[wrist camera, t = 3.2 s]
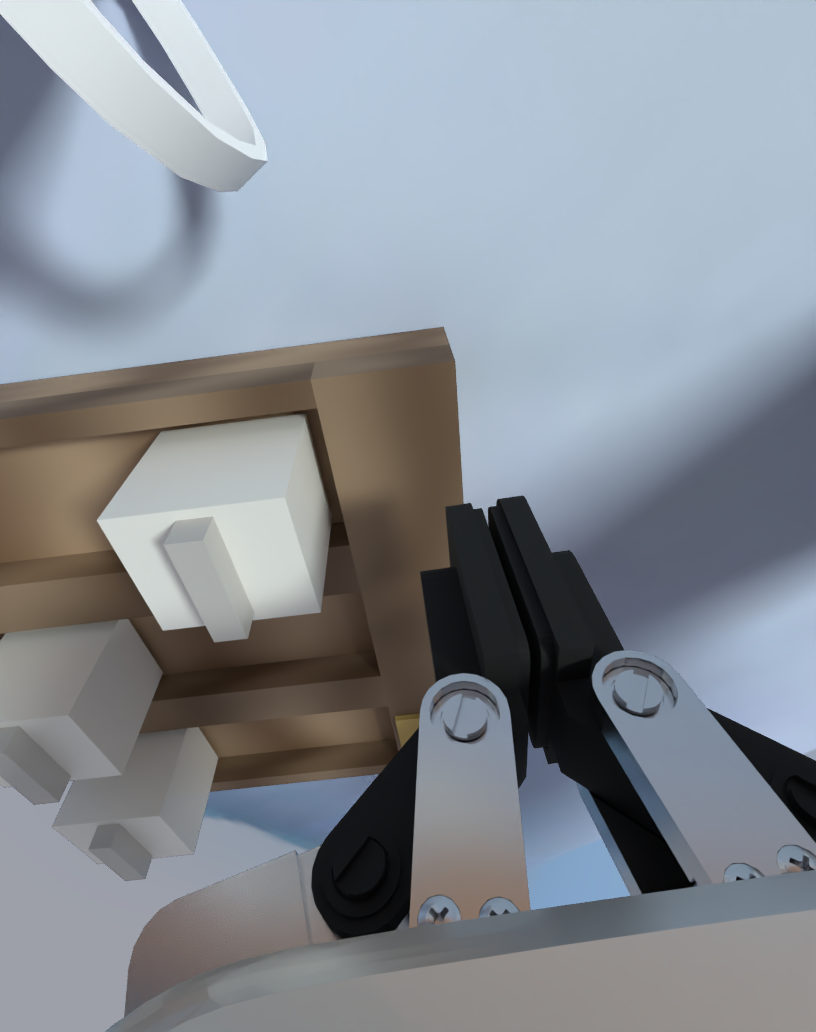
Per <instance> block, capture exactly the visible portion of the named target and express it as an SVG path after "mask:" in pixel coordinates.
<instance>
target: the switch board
mask: <svg viewBox="0 0 816 1032" xmlns="http://www.w3.org/2000/svg"><path fill="white" fill-rule="evenodd" d="M305 413H306V415H307V419H308V423H309V427H310V431H311V435H312V439H313V443H314V447H315V451H316V455H317V458H318V462H319V466H320V470H321V474H322V478H323V482H324V486H325V490H326V494H327V498H328V502H329V506H330V510H331V514H332V521H331V530H330V538H329V547H328V555H327V564H326V572H325V581H324V589H323V598H322V606H321V613H313V614H304V615H295V616H286V617H278V618H269V619H260V620H252V624H251V628H250V632H249V636H248V639H240V640H231V641H222V642H214V641H213V639H212V637H211V635H210V633H209V631H208V630H207V628H206V626H199V627H190V628H182V629H173V630H164V631H163V630H162V628H161V627H160V625H159V623H158V622H157V620H156V618H155V617H154V615H153V613H152V612H151V610H150V608H149V607H148V605H147V603H146V602H145V600H144V598H143V597H142V595H141V593H140V592H139V590H138V588H137V587H136V585H135V583H134V582H133V580H132V578H131V577H130V575H129V573H128V572H127V570H126V568H125V567H124V565H123V563H122V562H121V560H120V558H119V557H118V555H117V553H116V552H115V550H114V548H113V547H112V545H111V543H110V542H109V540H108V538H107V537H106V535H105V534H104V532H103V530H102V529H101V527H100V525H99V524H98V522H97V519H98V518H99V516H100V515H101V514H102V512H103V511H104V509H105V508H106V507H107V505H108V504H109V503H110V501H111V500H112V498H113V497H114V496H115V494H116V493H117V492H118V490H119V489H120V487H121V486H122V485H123V483H124V482H125V480H126V479H127V478H128V476H129V475H130V474H131V472H132V471H133V469H134V468H135V467H136V465H137V464H138V463H139V461H140V460H141V458H142V457H143V456H144V454H145V453H146V452H147V450H148V449H149V447H150V446H151V445H152V443H153V442H154V440H155V439H156V438H157V436H158V435H159V434H160V432H162V431H170V430H178V429H186V428H193V427H201V426H209V425H217V424H225V423H233V422H241V421H249V420H257V419H265V418H273V417H281V416H289V415H297V414H305ZM460 504H463V487H462V470H461V453H460V436H459V419H458V402H457V385H456V368H455V359H454V357H453V354H452V351H451V348H450V345H449V342H448V339H447V336H446V333H445V330H444V327H440V328H432V329H424V330H416V331H409V332H401V333H393V334H386V335H378V336H370V337H363V338H355V339H347V340H339V341H332V342H324V343H316V344H309V345H301V346H293V347H286V348H278V349H270V350H263V351H255V352H247V353H239V354H232V355H224V356H216V357H209V358H201V359H193V360H186V361H178V362H170V363H162V364H155V365H147V366H139V367H132V368H124V369H116V370H109V371H101V372H93V373H85V374H78V375H70V376H62V377H55V378H47V379H39V380H32V381H24V382H16V383H8V384H1V385H0V640H1V639H2V637H3V636H4V635H5V633H10V632H19V631H27V630H36V629H45V628H53V627H62V626H70V625H79V624H88V623H96V622H105V621H114V620H122V619H129V621H130V623H131V624H132V626H133V627H134V629H135V630H136V632H137V633H138V635H139V636H140V638H141V640H142V641H143V643H144V644H145V646H146V647H147V649H148V650H149V652H150V653H151V655H152V656H153V658H154V660H155V661H156V663H157V664H158V666H159V667H160V669H161V670H162V672H163V674H162V676H161V679H160V681H159V684H158V687H157V689H156V692H155V694H154V697H153V699H152V702H151V704H150V707H149V709H148V712H147V714H146V717H145V719H144V722H143V724H142V727H141V729H140V732H139V733H148V732H157V731H166V730H175V729H184V728H194V727H199V729H200V730H201V732H202V733H203V735H204V736H205V738H206V740H207V741H208V743H209V744H210V746H211V747H212V749H213V750H214V752H215V753H216V755H217V756H218V761H217V765H216V769H215V773H214V777H213V781H212V785H211V789H210V792H212V791H221V790H231V789H240V788H250V787H260V786H269V785H279V784H288V783H298V782H307V781H317V780H326V779H336V778H345V777H355V776H364V775H374V774H380V773H381V772H382V770H383V769H384V768H385V767H386V766H387V765H388V763H389V762H390V761H391V760H392V759H393V757H394V756H395V755H396V754H397V753H398V751H399V750H400V749H401V748H402V747H403V745H404V744H405V743H406V742H407V741H408V739H409V738H410V737H411V736H412V735H413V734H414V732H415V731H416V730H417V729H418V728H419V720H420V709H421V704H422V700H423V698H424V696H425V695H426V693H427V691H428V690H429V688H430V687H432V686H433V685H434V684H435V683H436V680H435V673H434V667H433V660H432V653H431V647H430V640H429V633H428V627H427V620H426V613H425V606H424V599H423V591H422V584H421V576H420V571H427V570H434V569H441V568H448V567H450V559H449V547H448V535H447V524H446V512H445V507H446V506H453V505H460ZM73 781H74V780H73Z"/></svg>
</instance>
